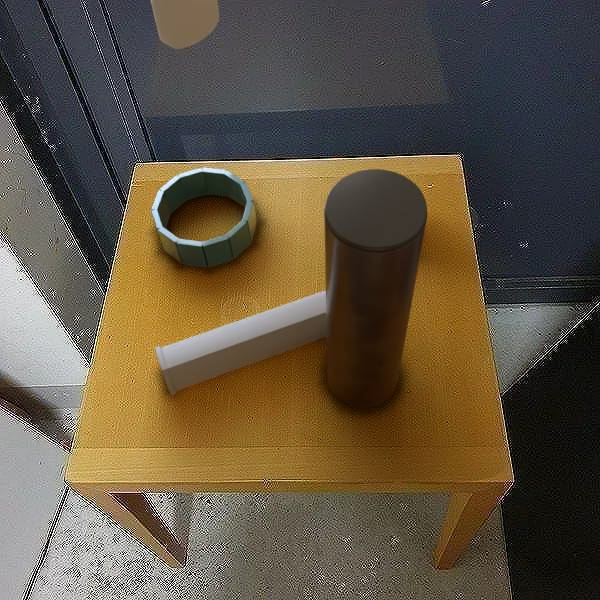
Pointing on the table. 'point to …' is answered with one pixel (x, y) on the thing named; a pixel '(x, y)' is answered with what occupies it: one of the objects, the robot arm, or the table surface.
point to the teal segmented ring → (196, 186)
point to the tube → (243, 342)
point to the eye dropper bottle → (184, 20)
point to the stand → (370, 281)
